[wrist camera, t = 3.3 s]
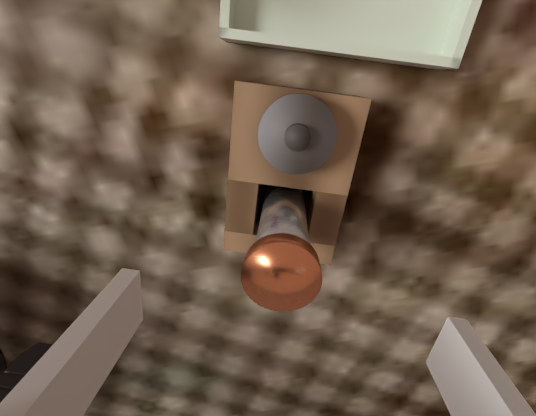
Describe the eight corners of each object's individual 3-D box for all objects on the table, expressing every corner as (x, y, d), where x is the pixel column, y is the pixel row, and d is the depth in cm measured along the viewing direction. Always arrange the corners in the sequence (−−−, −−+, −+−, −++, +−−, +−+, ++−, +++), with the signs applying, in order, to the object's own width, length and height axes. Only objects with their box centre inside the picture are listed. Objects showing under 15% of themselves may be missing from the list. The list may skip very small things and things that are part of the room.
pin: (258, 213, 27) (237, 305, 16) (263, 170, 25) (244, 239, 14) (303, 219, 27) (314, 316, 16) (311, 176, 25) (329, 251, 14)
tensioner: (231, 227, 28) (216, 268, 22) (243, 80, 23) (227, 80, 17) (325, 240, 28) (335, 284, 22) (358, 96, 23) (383, 101, 17)
